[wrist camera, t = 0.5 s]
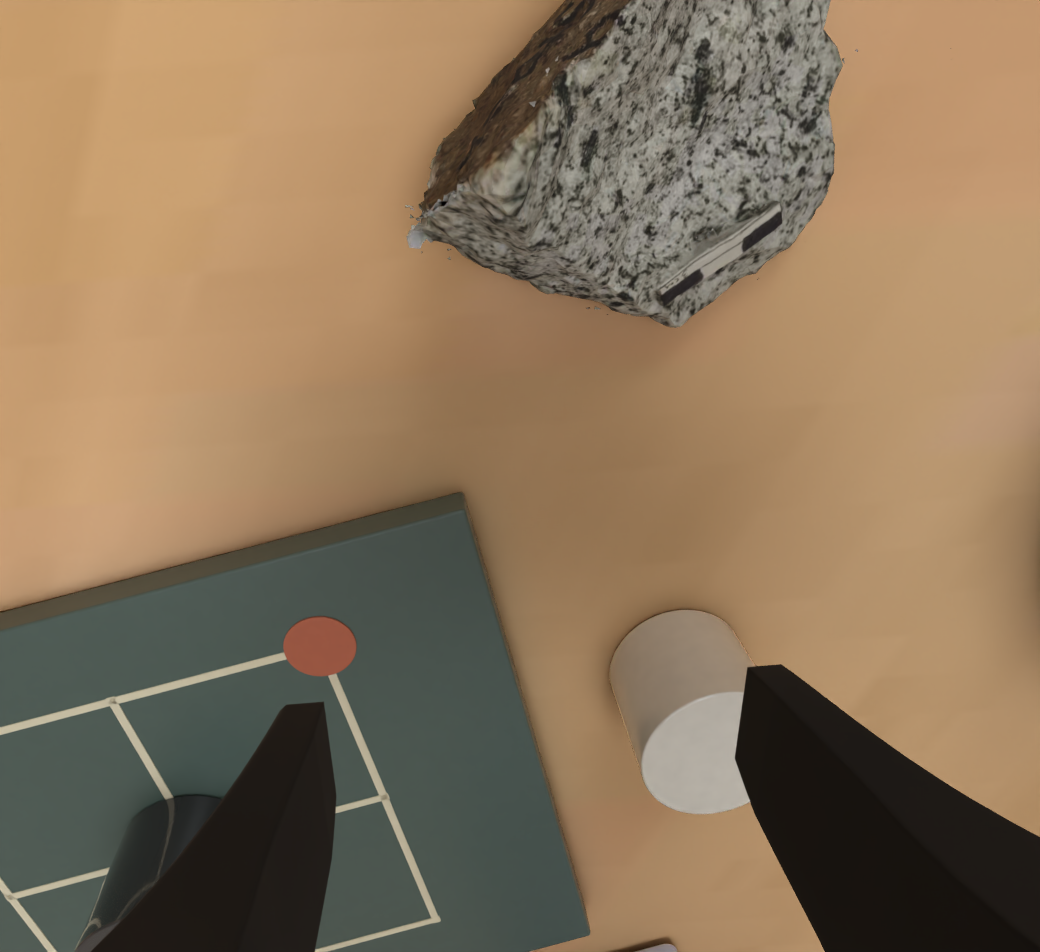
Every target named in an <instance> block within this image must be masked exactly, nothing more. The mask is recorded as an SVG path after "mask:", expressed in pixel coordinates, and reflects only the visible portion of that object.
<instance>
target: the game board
mask: <svg viewBox="0 0 1040 952" xmlns="http://www.w3.org/2000/svg"><path fill="white" fill-rule="evenodd" d="M312 702H324V706H325V713H326V721H327V728H328V735H329V743H330V750H331V758H332V765H333V772H334V780H335V787H336V795H337V797H336V812H335V827H334V840H333V852H332V861H331V866H330V872H329V878H328V883H327V889H326V894H325V900H324V905H323V910H322V916H321V921H320V926H319V932H318V937H317V942H316V948H315V952H529V951H533V950H537V949H540V948H544V947H548V946H551V945H555V944H559V943H563V942H566V941H570V940H574V939H577V938H581V937H585V936H588V935H590V928H589V923H588V918H587V914H586V909H585V905H584V901H583V898H582V895H581V891H580V888H579V884H578V881H577V878H576V874H575V871H574V867H573V864H572V861H571V857H570V854H569V850H568V847H567V843H566V840H565V837H564V833H563V830H562V826H561V823H560V820H559V816H558V813H557V809H556V806H555V803H554V799H553V796H552V792H551V789H550V786H549V782H548V779H547V775H546V772H545V769H544V765H543V762H542V758H541V755H540V752H539V748H538V745H537V741H536V738H535V734H534V731H533V728H532V724H531V721H530V717H529V714H528V711H527V707H526V704H525V700H524V697H523V694H522V690H521V687H520V683H519V680H518V677H517V673H516V670H515V666H514V663H513V660H512V656H511V653H510V649H509V646H508V642H507V639H506V636H505V632H504V629H503V625H502V622H501V619H500V615H499V612H498V608H497V605H496V602H495V598H494V595H493V591H492V588H491V585H490V581H489V578H488V574H487V571H486V568H485V564H484V561H483V557H482V554H481V550H480V547H479V544H478V540H477V537H476V533H475V530H474V527H473V523H472V520H471V516H470V513H469V510H468V506H467V503H466V499H465V496H464V494H463V493H462V492H459V493H455V494H452V495H448V496H444V497H440V498H436V499H432V500H429V501H425V502H421V503H417V504H413V505H410V506H406V507H402V508H398V509H394V510H391V511H387V512H383V513H379V514H375V515H371V516H368V517H364V518H360V519H356V520H352V521H349V522H345V523H341V524H337V525H333V526H330V527H326V528H322V529H318V530H314V531H310V532H307V533H303V534H299V535H295V536H291V537H288V538H284V539H280V540H276V541H272V542H268V543H265V544H261V545H257V546H253V547H249V548H246V549H242V550H238V551H234V552H230V553H227V554H223V555H219V556H215V557H211V558H207V559H204V560H200V561H196V562H192V563H188V564H185V565H181V566H177V567H173V568H169V569H166V570H162V571H158V572H154V573H150V574H146V575H143V576H139V577H135V578H131V579H127V580H124V581H120V582H116V583H112V584H108V585H105V586H101V587H97V588H93V589H89V590H85V591H82V592H78V593H74V594H70V595H66V596H63V597H59V598H55V599H51V600H47V601H44V602H40V603H36V604H32V605H28V606H24V607H21V608H17V609H13V610H9V611H5V612H2V613H0V952H74V950H75V948H76V946H77V943H78V941H79V939H80V936H81V934H82V932H83V929H84V927H85V924H86V922H87V920H88V917H89V915H90V913H91V910H92V908H93V906H94V903H95V901H96V899H97V896H98V894H99V891H100V889H101V887H102V884H103V882H104V880H105V877H106V875H107V873H108V870H109V868H110V866H111V863H112V861H113V858H114V856H115V854H116V851H117V849H118V847H119V844H120V842H121V840H122V837H123V835H124V833H125V830H126V828H127V827H128V825H129V824H130V822H131V821H132V820H133V819H134V818H135V817H136V816H137V815H138V814H139V813H140V812H142V811H143V810H144V809H146V808H148V807H149V806H151V805H153V804H155V803H157V802H160V801H163V800H166V799H169V798H174V797H179V796H188V795H200V796H210V797H216V798H220V799H223V798H224V796H225V795H226V793H227V792H228V790H229V789H230V788H231V786H232V785H233V783H234V782H235V780H236V779H237V778H238V776H239V775H240V773H241V772H242V770H243V769H244V767H245V766H246V764H247V763H248V761H249V760H250V758H251V757H252V755H253V754H254V752H255V751H256V749H257V747H258V746H259V744H260V743H261V741H262V740H263V738H264V736H265V735H266V733H267V731H268V730H269V728H270V726H271V725H272V723H273V721H274V720H275V718H276V716H277V715H278V713H279V711H280V710H281V709H282V708H283V707H284V706H285V705H287V704H300V703H312Z"/></svg>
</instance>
